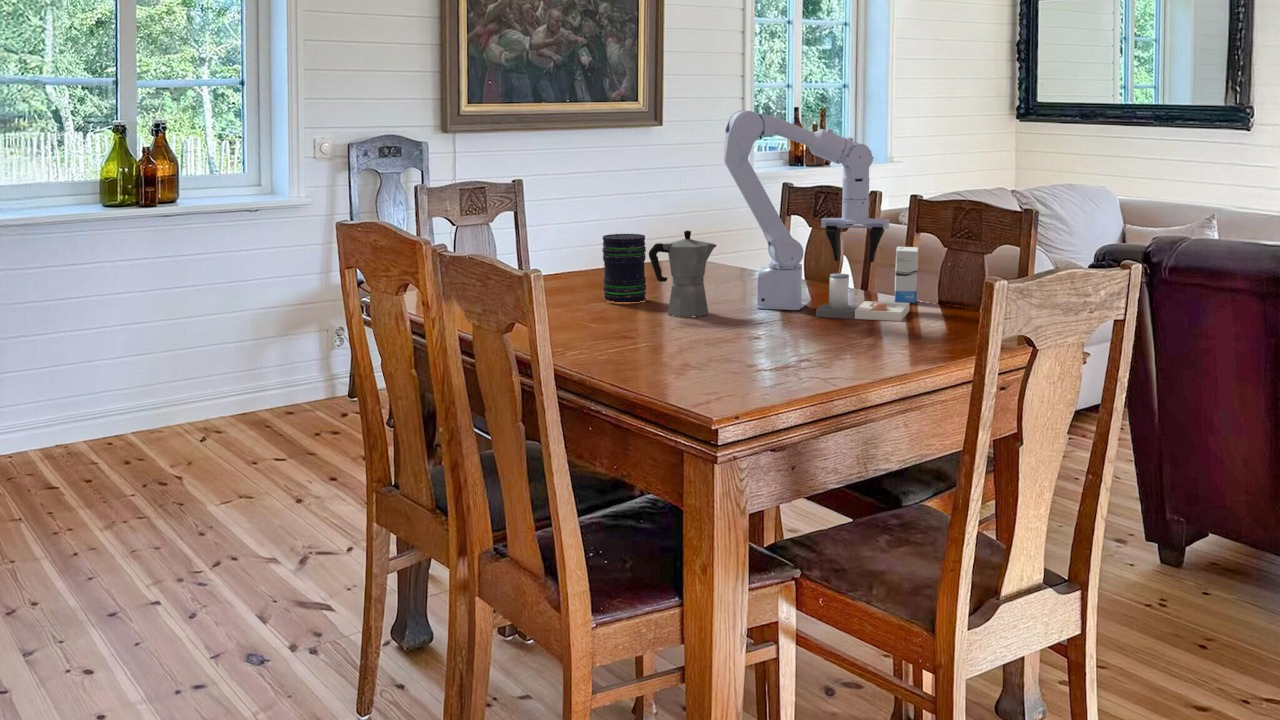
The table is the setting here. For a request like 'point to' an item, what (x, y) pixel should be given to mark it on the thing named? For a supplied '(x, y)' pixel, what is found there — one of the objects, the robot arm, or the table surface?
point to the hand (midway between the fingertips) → (854, 261)
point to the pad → (836, 312)
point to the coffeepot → (685, 274)
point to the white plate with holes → (893, 312)
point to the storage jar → (624, 267)
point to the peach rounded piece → (879, 307)
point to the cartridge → (838, 291)
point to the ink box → (906, 274)
